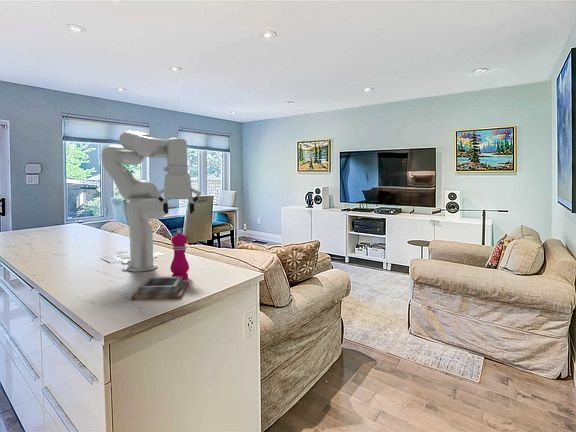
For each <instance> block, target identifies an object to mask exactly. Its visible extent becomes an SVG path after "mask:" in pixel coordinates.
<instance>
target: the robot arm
mask: <svg viewBox="0 0 576 432" xmlns="http://www.w3.org/2000/svg"><path fill="white" fill-rule="evenodd" d="M118 140H119V143H120V145H109V146H106V147H104V148H103V149H102V151H101V162H102V165H103V168H104V169H105V172H106V173H108V175H109V176H110V178H111V179H112V181H113V182H114V184H115V186H116V188H117V190H118V192H119V193H120V195H121V197H122V199H123V200H124V201H127V203H126V206H125V212H126V215H127V220H128V228H129V229H128V230H129V251H130V252H129V253H130V256H131V259H129V260H121V262H120V264H121V265H123V266H125V265H127V267H126V270H127V271H129V272H133V273H134V272H135V273H136V272H148V271H153V270H156V269H157V268H158V264H157V263H155V261H154V258H153V251H154V238H153V237H154V235H153V234H154V233H153V227H152V225H151V223H150V222H149V221H148V220H153V219H155V220H156V219H161V218H163V217H165V216H166V215H168V214H169V204H168V202H169V201H170V200H186V199H187V200H188V201H189V214H190V215H191V214H194V212H195V203H196V202H197V201H198V200H199V199H200V196H201V194H202V193H201V191H198V190H197V189H195V188H193V186H192V179H191V175H190V173H189V172H188V171H189V170H188V144H187V143H188V142H187V140H186V139H185V138H181V137H171V138H168V139H166V138H165V139H164V138H154V137H153V136H152V135H151V134H150V133H148V132H142V131H135V130H133V131H132V130H126V131H124V132H122V133H121V134H120V135H119V139H118ZM146 158H155V159H166V160H167V161H166V162H167V166H166V167H163V171H164V172H167V173H165V176H164V185H163V186H164V187H163V188H162V189H160V190H159V188H158V186H157V185H156V184H155V183H153V182H152V181H150V180H139V179H136V178H135V177H134V175H133V173H132V172H131V171H130V170H129V169H128V168H127V167H126V166H124V165H127V166H138V165H141V163H142V162H144V161H145V159H146ZM162 194H163V196H164V197H163V196H162ZM193 194H195V197H194V198H193Z"/></svg>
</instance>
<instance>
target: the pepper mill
mask: <svg viewBox="0 0 576 432" xmlns="http://www.w3.org/2000/svg"><path fill="white" fill-rule="evenodd" d="M187 241H188V238H187V236H186V235H185V234H184V233H182V230H180V229H177V231H176V233H175V234H174V235H172V237H171V244H172V245H173V246H172V250H173V258H172V261H171V263H170V272H171V273H172V274H171V277H183V281H185V280H187V279H189V273H188V271H190V265H189V262H188V260H187V258H186V253H185V252H186V251H185V250H186V246H187V245H186V244H187Z"/></svg>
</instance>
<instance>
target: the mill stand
mask: <svg viewBox="0 0 576 432" xmlns="http://www.w3.org/2000/svg"><path fill="white" fill-rule="evenodd" d="M189 285H190V282H189V281H184V280H183V277H172V276H159V277H158V276H157V277H148V278H147V279H145V280H144V281H143V282H142V284H141V285H140V286H139V287H138V289H137V290H136V291H135V292H134V293H133V294H132V295H131V297H130V301H145V300H146V301H148V300H149V301H152V300H181V299H182V297H183V295H184V293H185V292H186V291H187V288H188V287H189Z"/></svg>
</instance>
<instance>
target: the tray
mask: <svg viewBox="0 0 576 432" xmlns="http://www.w3.org/2000/svg"><path fill="white" fill-rule="evenodd" d="M156 252H157V253H153V259H154V258H156V257H159V255H161V256H166V254H165V253H161V252H160V251H156ZM122 253H129V251H126V250H117V251H115V253H114V255H115V254H122ZM114 257H116V256H114ZM117 257H119V258H115V259H117V260H120V261H121V260H129V259H131V256H130V254H122V255H117Z"/></svg>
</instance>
